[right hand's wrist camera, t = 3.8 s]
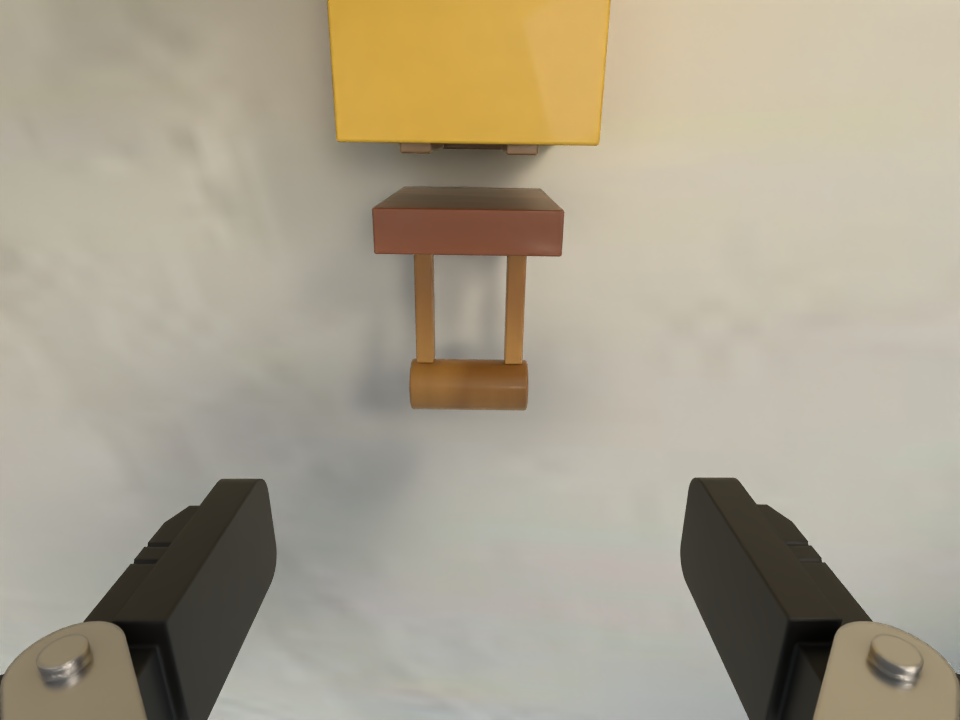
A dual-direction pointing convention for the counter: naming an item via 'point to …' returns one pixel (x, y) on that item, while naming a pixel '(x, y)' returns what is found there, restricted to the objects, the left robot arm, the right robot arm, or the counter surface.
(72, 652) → the right robot arm
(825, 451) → the counter surface
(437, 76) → the cabinet
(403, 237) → the drawer
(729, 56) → the counter surface
